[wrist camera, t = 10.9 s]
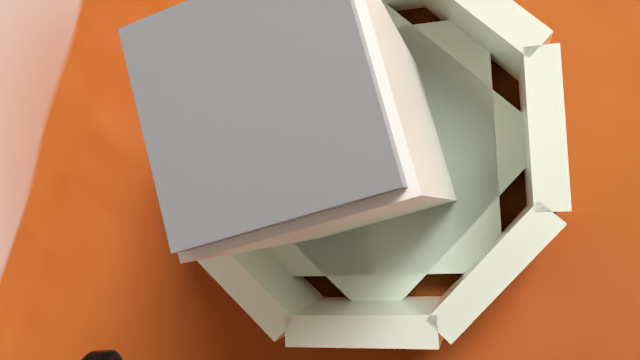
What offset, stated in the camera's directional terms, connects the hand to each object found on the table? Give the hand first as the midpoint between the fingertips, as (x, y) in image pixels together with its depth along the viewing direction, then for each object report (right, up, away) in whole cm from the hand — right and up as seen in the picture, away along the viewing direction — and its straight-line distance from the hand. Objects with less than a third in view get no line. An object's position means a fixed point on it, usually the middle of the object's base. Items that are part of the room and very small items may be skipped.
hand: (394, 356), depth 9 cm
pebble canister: (+1, +4, +13) cm, 13 cm away
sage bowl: (+1, +4, +14) cm, 14 cm away
